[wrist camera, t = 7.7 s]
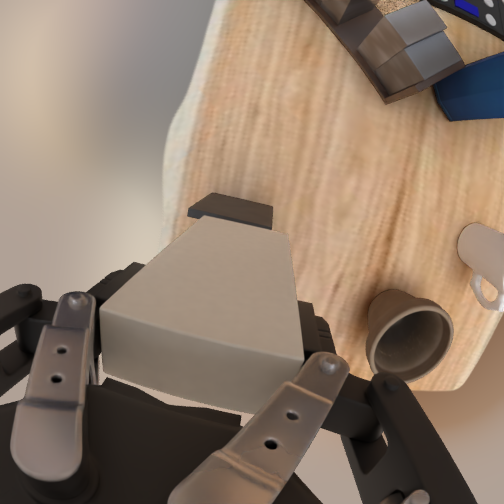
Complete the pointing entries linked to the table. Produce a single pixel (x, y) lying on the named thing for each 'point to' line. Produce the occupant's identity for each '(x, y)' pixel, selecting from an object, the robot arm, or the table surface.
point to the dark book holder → (233, 210)
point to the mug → (484, 260)
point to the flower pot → (407, 335)
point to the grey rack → (392, 44)
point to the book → (474, 90)
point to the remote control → (477, 13)
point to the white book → (209, 318)
